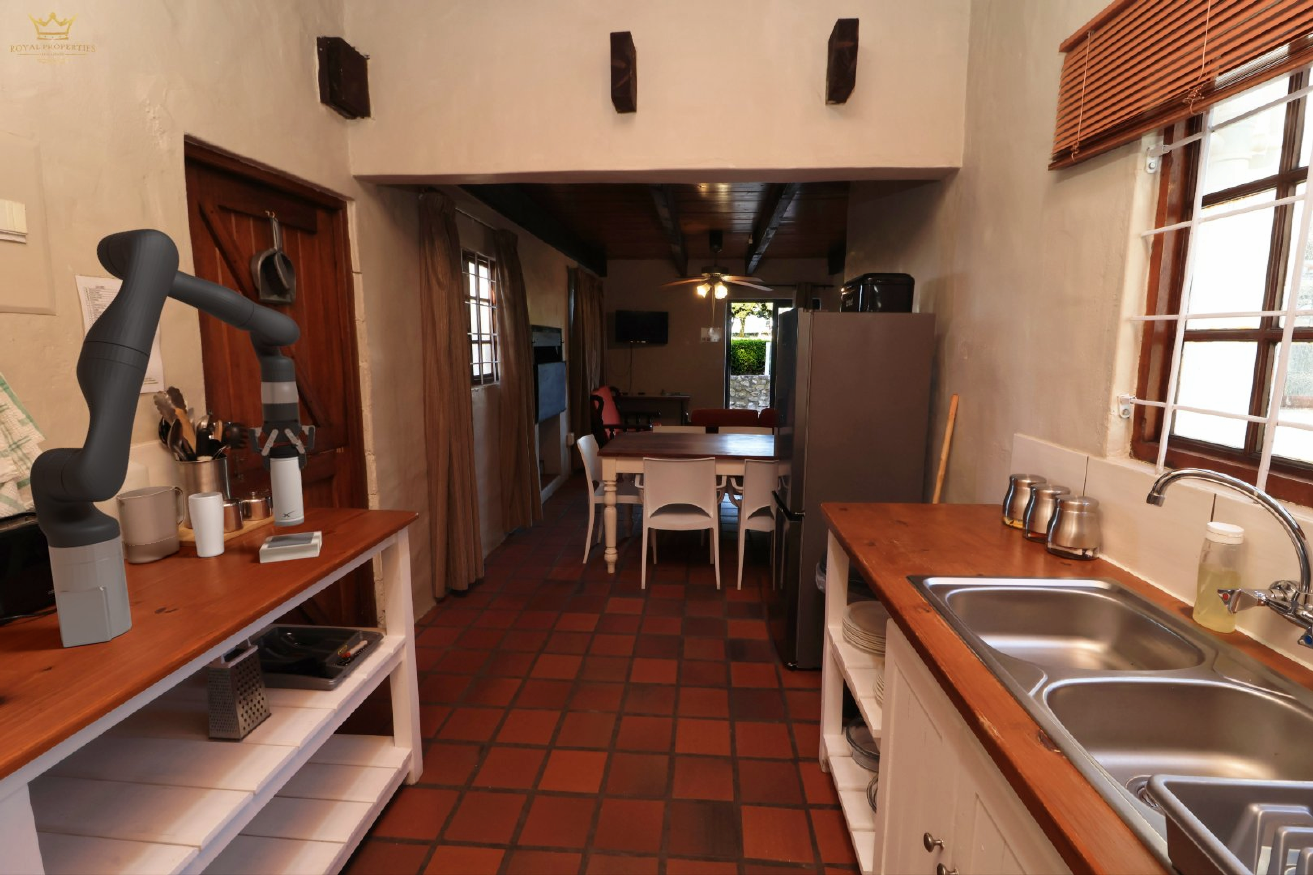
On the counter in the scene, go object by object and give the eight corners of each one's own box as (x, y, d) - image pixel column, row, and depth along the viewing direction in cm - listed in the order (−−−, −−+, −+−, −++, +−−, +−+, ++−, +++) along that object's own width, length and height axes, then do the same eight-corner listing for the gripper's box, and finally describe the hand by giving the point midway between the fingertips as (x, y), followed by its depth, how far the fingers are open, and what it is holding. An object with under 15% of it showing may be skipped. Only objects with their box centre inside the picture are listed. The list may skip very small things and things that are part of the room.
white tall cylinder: (192, 553, 151) (186, 494, 149) (226, 548, 155) (220, 490, 153) (195, 561, 146) (189, 499, 144) (229, 554, 150) (224, 495, 148)
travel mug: (291, 527, 148) (285, 445, 145) (268, 525, 149) (262, 444, 146) (311, 520, 154) (305, 441, 151) (288, 519, 155) (282, 440, 152)
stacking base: (318, 556, 149) (317, 543, 149) (260, 563, 144) (259, 549, 144) (322, 542, 160) (321, 530, 160) (268, 548, 155) (267, 535, 155)
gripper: (241, 402, 141) (247, 474, 143) (312, 401, 147) (317, 469, 149) (247, 400, 147) (253, 468, 150) (315, 398, 153) (320, 464, 156)
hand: (285, 468), depth 149 cm, fingers closed on travel mug, 6 cm apart
